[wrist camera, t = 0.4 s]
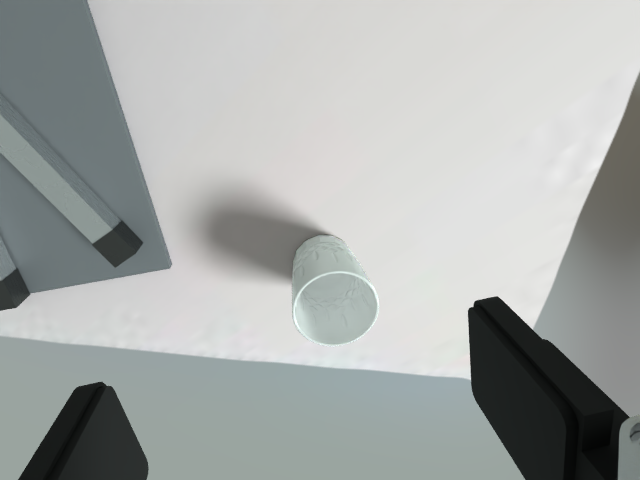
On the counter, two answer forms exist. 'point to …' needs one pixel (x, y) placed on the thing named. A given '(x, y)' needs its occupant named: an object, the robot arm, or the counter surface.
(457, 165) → the counter surface
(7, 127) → the moving tong arm
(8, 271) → the bar
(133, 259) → the slate board
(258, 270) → the counter surface
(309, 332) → the white cup
